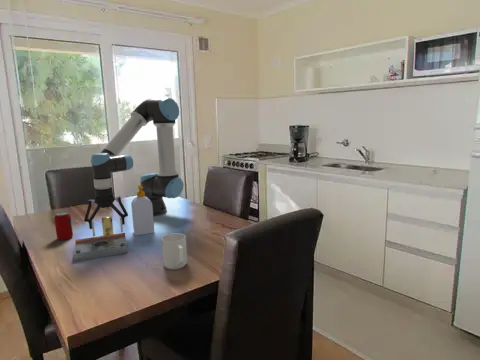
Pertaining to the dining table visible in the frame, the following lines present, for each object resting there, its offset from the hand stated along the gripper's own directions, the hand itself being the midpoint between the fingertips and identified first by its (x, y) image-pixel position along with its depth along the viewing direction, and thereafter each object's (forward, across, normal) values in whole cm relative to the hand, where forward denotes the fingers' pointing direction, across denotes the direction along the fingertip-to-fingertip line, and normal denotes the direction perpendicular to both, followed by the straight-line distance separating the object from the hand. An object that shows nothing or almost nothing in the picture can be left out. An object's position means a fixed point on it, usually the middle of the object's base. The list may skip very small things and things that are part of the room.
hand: (108, 233), depth 154 cm
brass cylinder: (+2, 0, 0) cm, 2 cm away
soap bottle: (+2, -16, -1) cm, 16 cm away
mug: (+2, -23, +44) cm, 50 cm away
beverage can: (+2, +19, -9) cm, 21 cm away
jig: (+2, +3, +15) cm, 15 cm away
